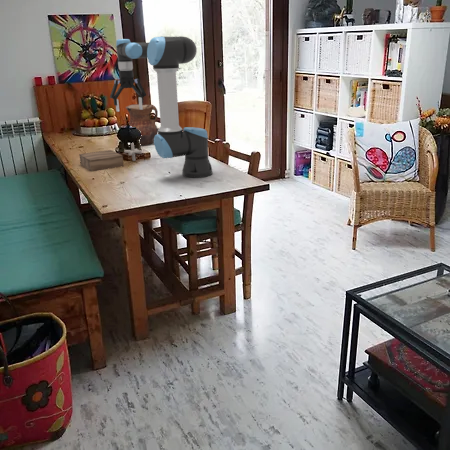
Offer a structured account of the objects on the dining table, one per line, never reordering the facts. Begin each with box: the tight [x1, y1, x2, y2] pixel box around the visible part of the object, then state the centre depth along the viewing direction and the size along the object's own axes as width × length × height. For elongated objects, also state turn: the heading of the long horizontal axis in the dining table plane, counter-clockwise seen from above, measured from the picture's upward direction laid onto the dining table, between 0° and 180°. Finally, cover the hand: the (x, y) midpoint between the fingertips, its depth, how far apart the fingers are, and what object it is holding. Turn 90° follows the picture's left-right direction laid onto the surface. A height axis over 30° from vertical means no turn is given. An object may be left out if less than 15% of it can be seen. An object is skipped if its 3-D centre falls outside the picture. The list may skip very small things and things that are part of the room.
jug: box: [125, 103, 159, 147], centre depth 306 cm, size 22×21×25 cm
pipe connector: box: [123, 143, 143, 162], centre depth 264 cm, size 10×10×10 cm
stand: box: [79, 149, 124, 172], centre depth 255 cm, size 18×18×6 cm
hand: (129, 110), depth 257 cm, fingers open, 13 cm apart
